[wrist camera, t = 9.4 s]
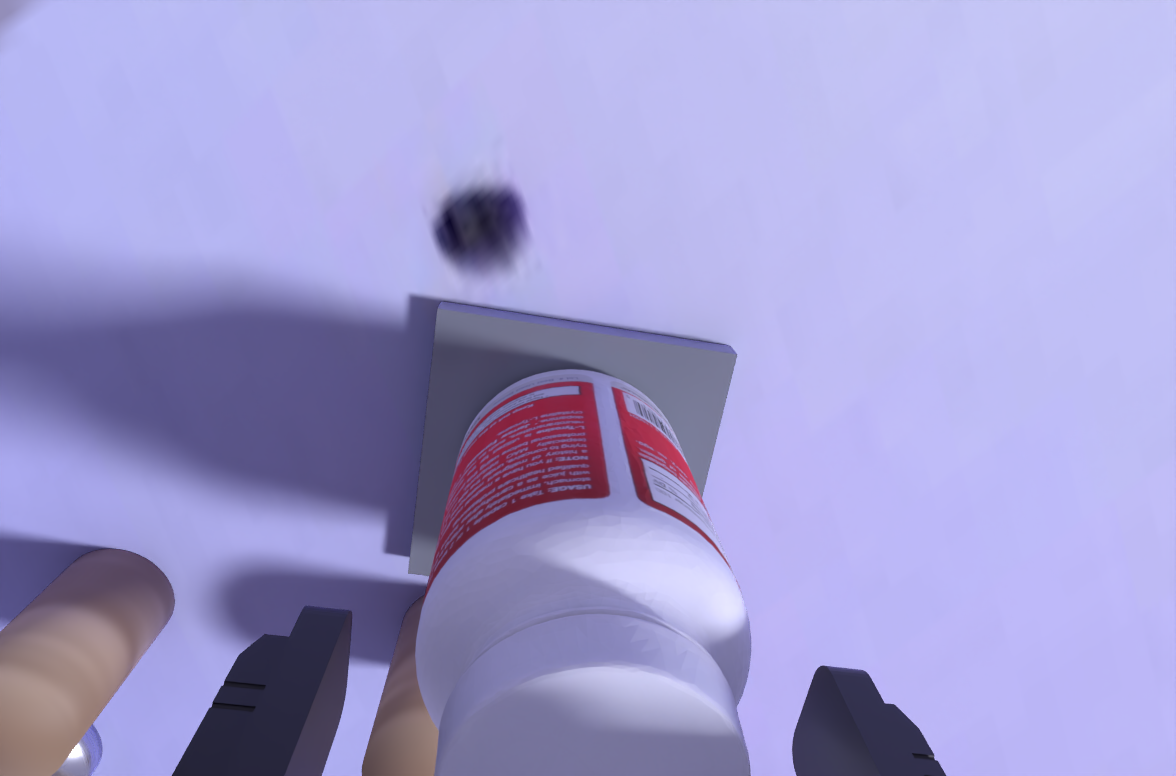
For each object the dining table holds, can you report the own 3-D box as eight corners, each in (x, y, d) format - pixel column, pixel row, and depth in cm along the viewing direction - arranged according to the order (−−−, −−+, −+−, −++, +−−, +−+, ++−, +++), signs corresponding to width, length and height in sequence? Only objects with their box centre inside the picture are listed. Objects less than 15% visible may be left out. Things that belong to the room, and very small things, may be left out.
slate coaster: (441, 301, 21) (437, 308, 20) (730, 345, 21) (737, 354, 21) (412, 558, 23) (408, 573, 22) (671, 589, 24) (675, 605, 23)
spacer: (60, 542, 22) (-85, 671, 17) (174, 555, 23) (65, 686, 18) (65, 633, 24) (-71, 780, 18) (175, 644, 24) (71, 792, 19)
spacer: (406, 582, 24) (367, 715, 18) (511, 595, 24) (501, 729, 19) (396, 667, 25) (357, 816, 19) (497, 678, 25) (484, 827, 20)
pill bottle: (436, 535, 22) (338, 913, 12) (489, 336, 20) (428, 576, 10) (642, 582, 23) (721, 972, 13) (711, 396, 21) (872, 674, 11)
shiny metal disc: (-16, 686, 24) (-43, 714, 23) (104, 698, 25) (83, 726, 24) (-7, 774, 25) (-32, 805, 24) (108, 784, 26) (88, 814, 25)
